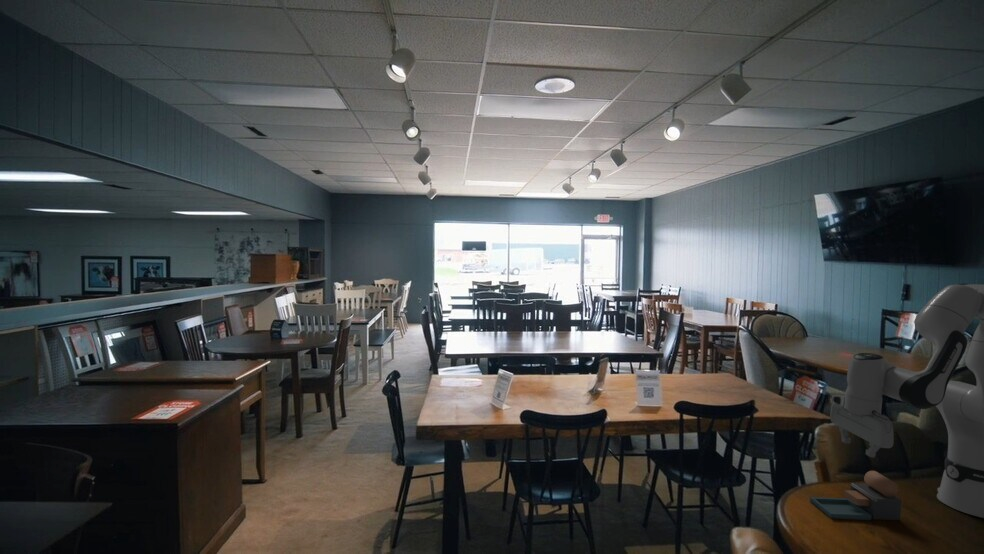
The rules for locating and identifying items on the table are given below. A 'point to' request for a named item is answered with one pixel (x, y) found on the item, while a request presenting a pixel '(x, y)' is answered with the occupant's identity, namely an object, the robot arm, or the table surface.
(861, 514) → the tray
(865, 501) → the ticket
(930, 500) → the table surface
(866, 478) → the dispenser
